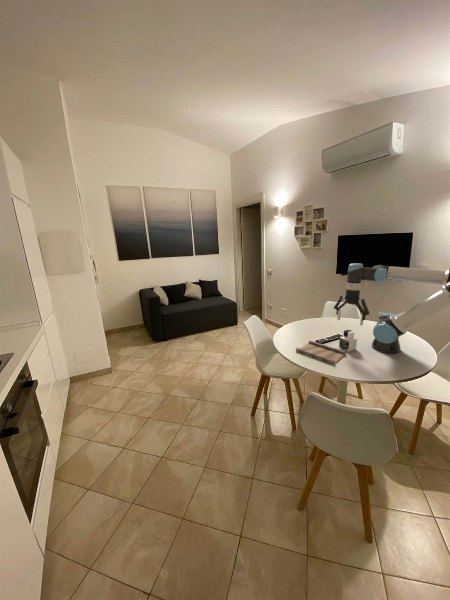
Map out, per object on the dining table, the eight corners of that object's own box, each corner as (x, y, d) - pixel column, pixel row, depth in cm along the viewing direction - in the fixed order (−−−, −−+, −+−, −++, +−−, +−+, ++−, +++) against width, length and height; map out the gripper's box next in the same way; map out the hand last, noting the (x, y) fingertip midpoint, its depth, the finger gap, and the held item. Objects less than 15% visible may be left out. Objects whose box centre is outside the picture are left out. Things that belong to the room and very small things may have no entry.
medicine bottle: (338, 347, 158) (340, 330, 155) (346, 345, 160) (348, 328, 157) (348, 351, 151) (349, 333, 148) (356, 349, 154) (358, 331, 151)
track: (345, 354, 147) (346, 351, 147) (333, 364, 137) (333, 361, 136) (309, 343, 165) (309, 340, 164) (296, 351, 154) (296, 348, 154)
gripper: (330, 287, 153) (327, 319, 158) (373, 293, 135) (369, 329, 140) (335, 285, 157) (332, 316, 163) (378, 291, 139) (373, 325, 145)
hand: (349, 322), depth 151 cm, fingers open, 13 cm apart
